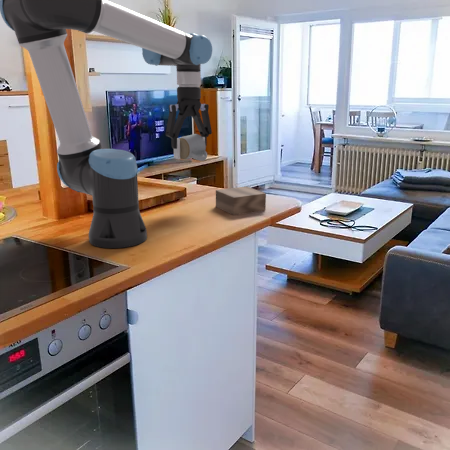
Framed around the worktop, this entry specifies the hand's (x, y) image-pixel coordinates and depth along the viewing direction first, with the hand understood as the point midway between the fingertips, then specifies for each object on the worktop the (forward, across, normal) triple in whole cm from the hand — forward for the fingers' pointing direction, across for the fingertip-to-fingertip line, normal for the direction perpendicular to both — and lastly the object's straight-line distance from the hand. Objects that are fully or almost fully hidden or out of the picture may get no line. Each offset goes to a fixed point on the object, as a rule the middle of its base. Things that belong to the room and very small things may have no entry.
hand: (189, 157), depth 157 cm
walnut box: (+17, -12, +13) cm, 24 cm away
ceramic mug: (+1, -1, +1) cm, 1 cm away
